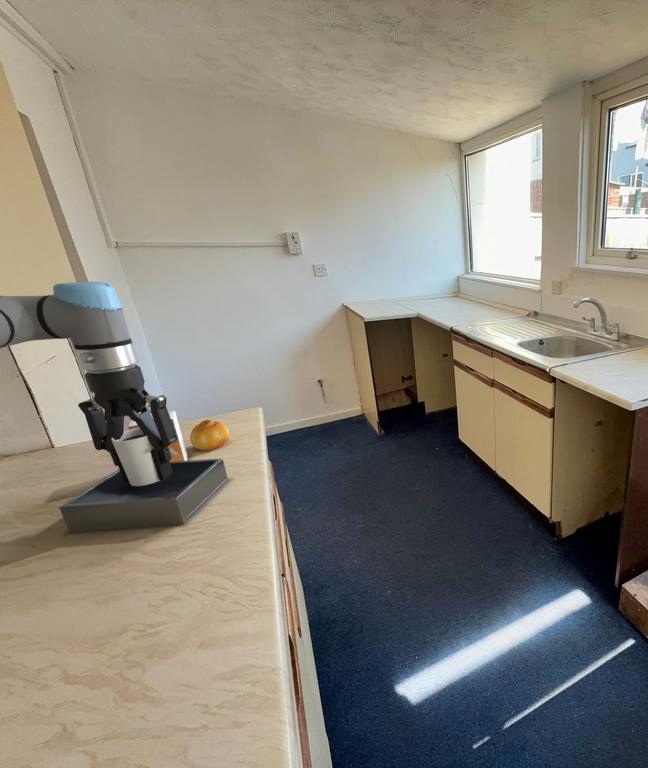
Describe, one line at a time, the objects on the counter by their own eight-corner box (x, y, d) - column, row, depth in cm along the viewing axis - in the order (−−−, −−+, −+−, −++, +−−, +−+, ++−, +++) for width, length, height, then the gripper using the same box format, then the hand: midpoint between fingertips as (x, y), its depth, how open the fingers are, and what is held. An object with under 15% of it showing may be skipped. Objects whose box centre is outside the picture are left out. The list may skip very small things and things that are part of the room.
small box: (143, 477, 93) (126, 426, 89) (147, 466, 98) (131, 417, 93) (187, 466, 97) (173, 418, 93) (188, 456, 102) (175, 410, 98)
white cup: (157, 467, 85) (143, 424, 81) (178, 473, 82) (164, 429, 79) (119, 483, 79) (102, 438, 75) (140, 490, 76) (124, 443, 73)
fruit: (211, 448, 101) (214, 417, 103) (180, 451, 101) (183, 420, 103) (234, 450, 109) (236, 421, 111) (205, 452, 109) (208, 423, 111)
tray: (70, 534, 74) (58, 506, 72) (134, 487, 89) (126, 464, 87) (184, 525, 76) (176, 498, 74) (228, 481, 91) (222, 458, 89)
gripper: (34, 376, 68) (80, 491, 76) (153, 371, 71) (187, 484, 78) (73, 364, 75) (113, 471, 83) (180, 361, 78) (209, 464, 85)
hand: (148, 477), depth 80 cm, fingers closed on white cup, 6 cm apart
